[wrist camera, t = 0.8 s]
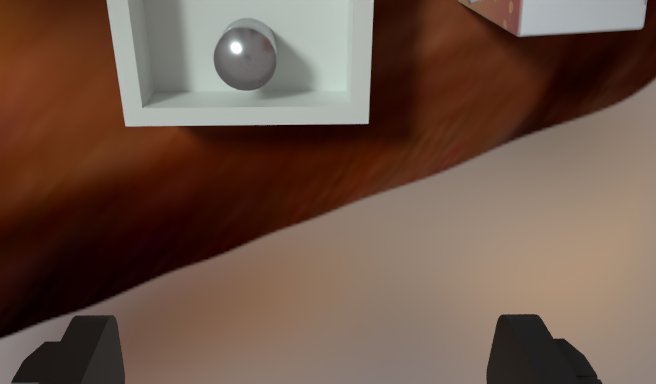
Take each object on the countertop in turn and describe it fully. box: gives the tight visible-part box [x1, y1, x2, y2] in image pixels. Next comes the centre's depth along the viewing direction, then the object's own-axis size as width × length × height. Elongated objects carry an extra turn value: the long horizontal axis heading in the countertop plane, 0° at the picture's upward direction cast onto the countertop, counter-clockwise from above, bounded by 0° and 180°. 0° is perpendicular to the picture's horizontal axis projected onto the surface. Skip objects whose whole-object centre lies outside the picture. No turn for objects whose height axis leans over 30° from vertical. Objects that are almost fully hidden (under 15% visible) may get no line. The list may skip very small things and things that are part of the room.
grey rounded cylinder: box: [214, 18, 278, 91], centre depth 31 cm, size 3×3×3 cm
